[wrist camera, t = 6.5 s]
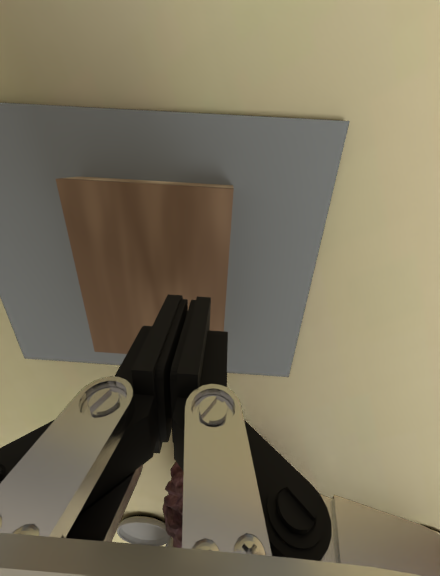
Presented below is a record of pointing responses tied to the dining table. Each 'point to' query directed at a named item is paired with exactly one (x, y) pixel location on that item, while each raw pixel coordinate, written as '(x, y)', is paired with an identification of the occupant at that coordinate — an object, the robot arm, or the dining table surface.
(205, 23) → the dining table surface
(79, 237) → the wooden block
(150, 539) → the pocket watch
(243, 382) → the dining table surface
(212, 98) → the dining table surface
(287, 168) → the mat
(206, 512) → the robot arm
